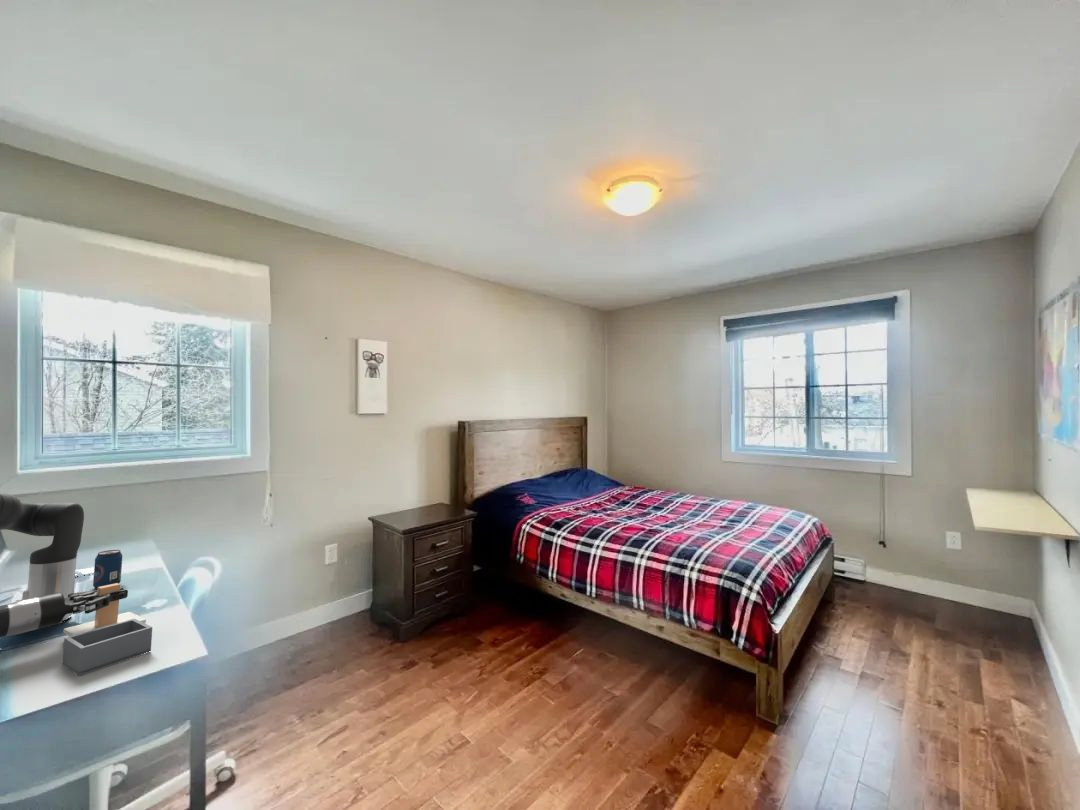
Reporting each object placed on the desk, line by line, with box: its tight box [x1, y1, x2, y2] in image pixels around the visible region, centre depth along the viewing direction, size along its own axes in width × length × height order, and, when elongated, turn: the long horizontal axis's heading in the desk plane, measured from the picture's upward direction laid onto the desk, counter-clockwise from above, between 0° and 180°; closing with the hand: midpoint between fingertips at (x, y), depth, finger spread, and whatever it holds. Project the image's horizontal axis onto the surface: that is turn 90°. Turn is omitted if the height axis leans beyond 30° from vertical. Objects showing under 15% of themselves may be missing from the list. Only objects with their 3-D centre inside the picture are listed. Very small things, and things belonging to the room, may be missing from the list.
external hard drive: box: [75, 566, 95, 576], centre depth 170 cm, size 2×8×12 cm
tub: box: [62, 619, 153, 677], centre depth 109 cm, size 13×10×6 cm
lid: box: [62, 583, 147, 637], centre depth 121 cm, size 13×10×12 cm
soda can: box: [92, 549, 123, 590], centre depth 157 cm, size 7×7×12 cm
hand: (124, 592), depth 124 cm, fingers closed on lid
